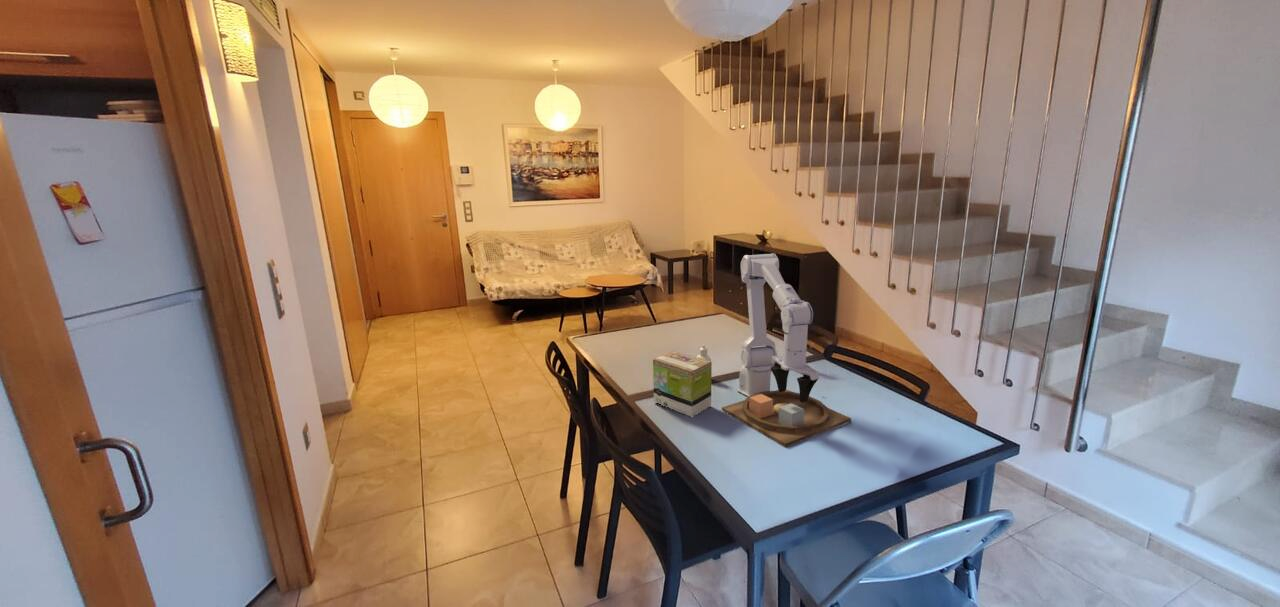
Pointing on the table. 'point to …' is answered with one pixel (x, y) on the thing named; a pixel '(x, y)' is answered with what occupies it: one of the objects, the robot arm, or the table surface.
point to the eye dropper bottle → (703, 354)
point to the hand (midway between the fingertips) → (792, 396)
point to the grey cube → (791, 415)
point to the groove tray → (786, 435)
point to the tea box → (682, 382)
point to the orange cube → (761, 406)
